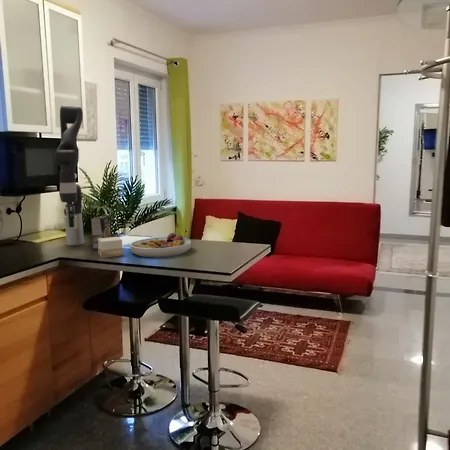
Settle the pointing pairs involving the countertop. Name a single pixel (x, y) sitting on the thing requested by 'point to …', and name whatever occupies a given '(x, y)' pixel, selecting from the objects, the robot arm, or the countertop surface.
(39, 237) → the countertop surface
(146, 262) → the countertop surface
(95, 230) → the coffee box
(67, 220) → the sage cube
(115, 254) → the tower base
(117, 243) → the tower top
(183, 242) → the bowl
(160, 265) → the countertop surface
